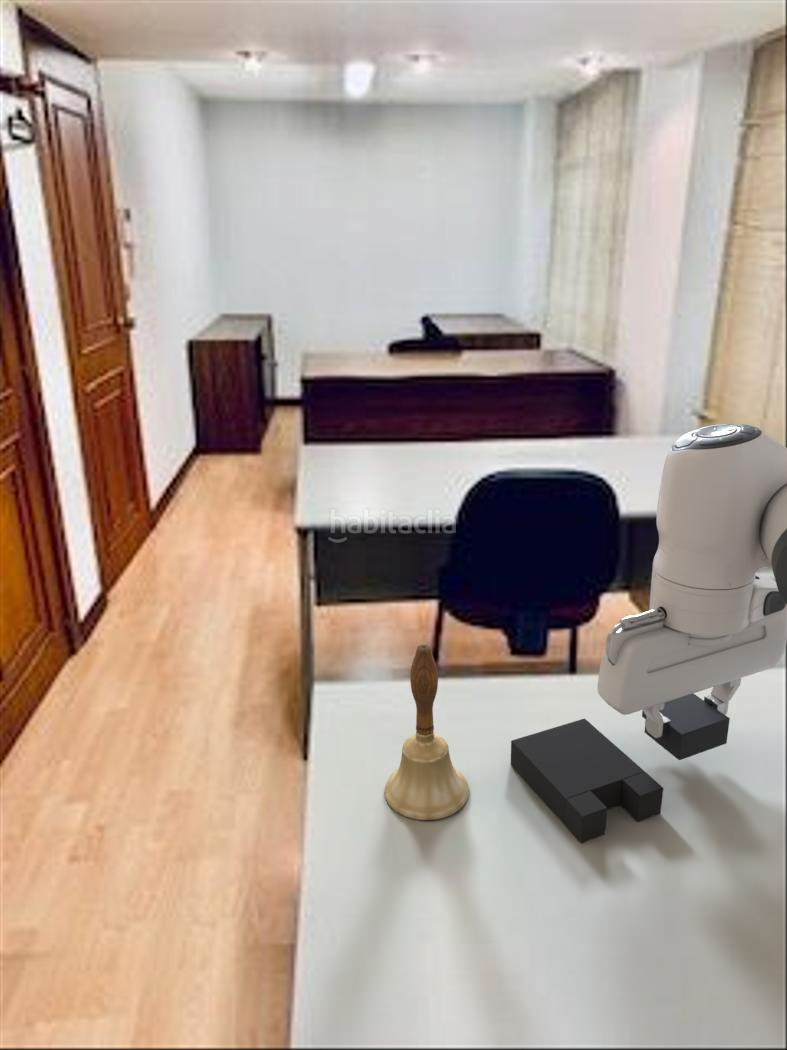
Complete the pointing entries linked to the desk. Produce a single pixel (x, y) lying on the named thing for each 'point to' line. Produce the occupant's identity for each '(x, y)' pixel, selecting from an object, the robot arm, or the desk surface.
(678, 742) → the graphite pad
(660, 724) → the robot arm
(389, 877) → the desk surface
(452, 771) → the hand bell
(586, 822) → the black pad
